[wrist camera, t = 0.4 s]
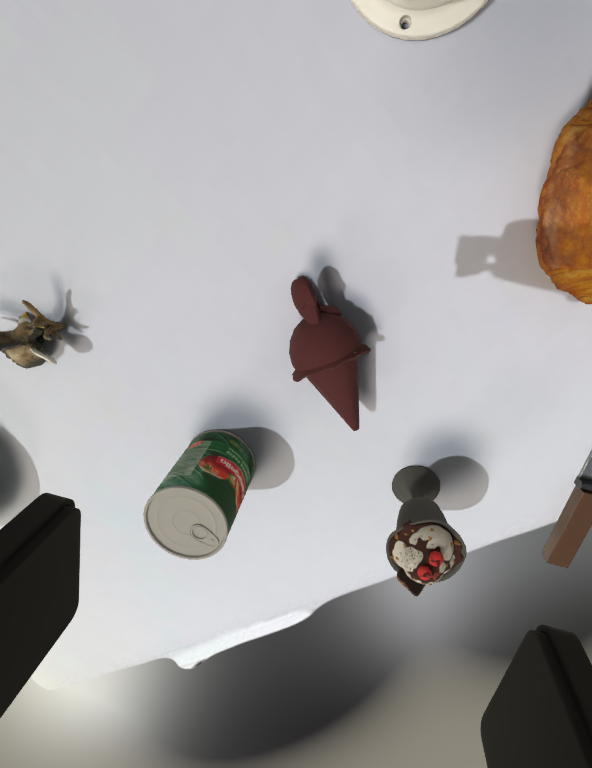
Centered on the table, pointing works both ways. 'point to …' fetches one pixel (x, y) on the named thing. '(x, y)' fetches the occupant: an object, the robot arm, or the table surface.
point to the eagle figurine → (29, 339)
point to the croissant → (569, 210)
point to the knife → (572, 521)
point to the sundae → (422, 533)
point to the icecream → (326, 352)
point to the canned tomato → (201, 496)
